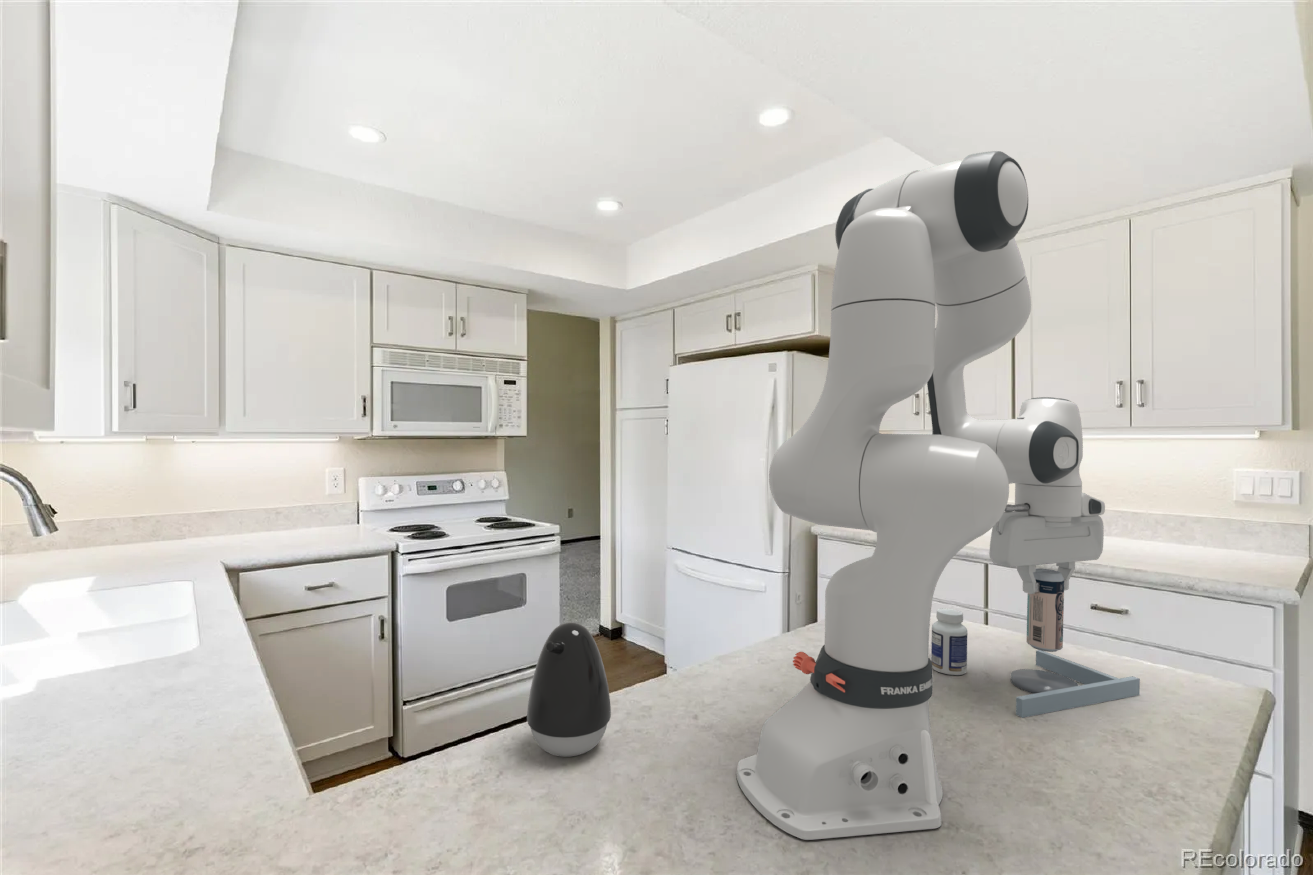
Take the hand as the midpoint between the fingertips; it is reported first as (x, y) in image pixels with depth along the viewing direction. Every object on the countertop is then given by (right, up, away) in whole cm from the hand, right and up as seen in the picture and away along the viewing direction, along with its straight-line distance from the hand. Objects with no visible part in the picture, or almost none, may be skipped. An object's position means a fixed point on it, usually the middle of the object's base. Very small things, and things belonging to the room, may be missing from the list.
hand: (1045, 591), depth 97 cm
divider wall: (-1, -15, 0) cm, 15 cm away
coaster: (0, -15, 0) cm, 15 cm away
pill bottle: (-12, -15, +6) cm, 20 cm away
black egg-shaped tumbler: (-71, -14, -20) cm, 76 cm away
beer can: (0, -9, 0) cm, 9 cm away
